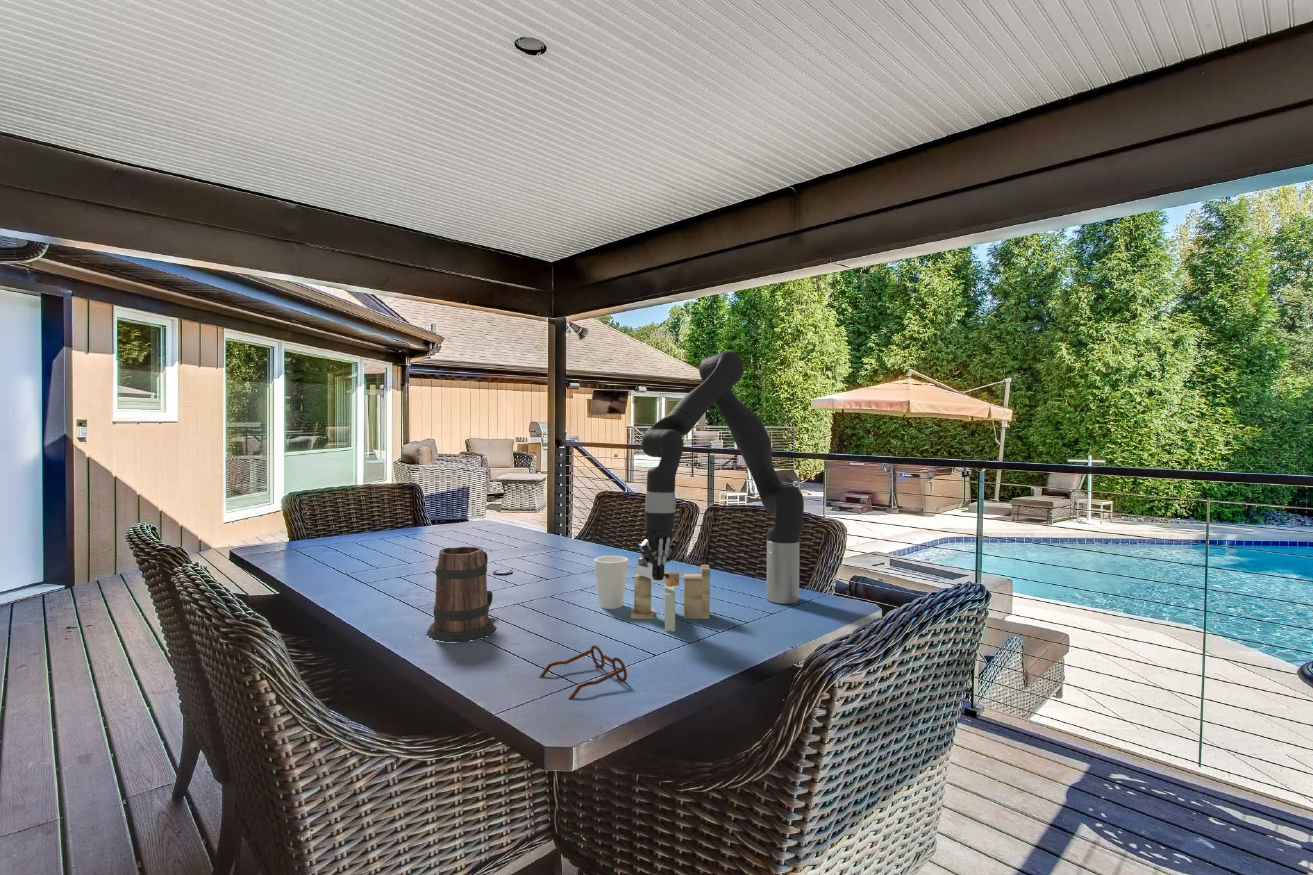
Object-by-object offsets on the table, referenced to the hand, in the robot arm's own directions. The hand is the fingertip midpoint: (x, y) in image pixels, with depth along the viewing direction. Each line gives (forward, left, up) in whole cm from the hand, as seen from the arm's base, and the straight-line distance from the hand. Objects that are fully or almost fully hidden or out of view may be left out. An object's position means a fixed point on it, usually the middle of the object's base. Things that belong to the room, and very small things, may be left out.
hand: (657, 579), depth 161 cm
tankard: (0, -47, -12) cm, 49 cm away
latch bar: (-6, 0, -1) cm, 6 cm away
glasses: (+33, -15, -13) cm, 38 cm away
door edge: (-6, +3, -12) cm, 14 cm away
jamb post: (-11, -4, -12) cm, 17 cm away
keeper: (-11, +10, -12) cm, 19 cm away
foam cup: (-20, -13, -12) cm, 27 cm away
